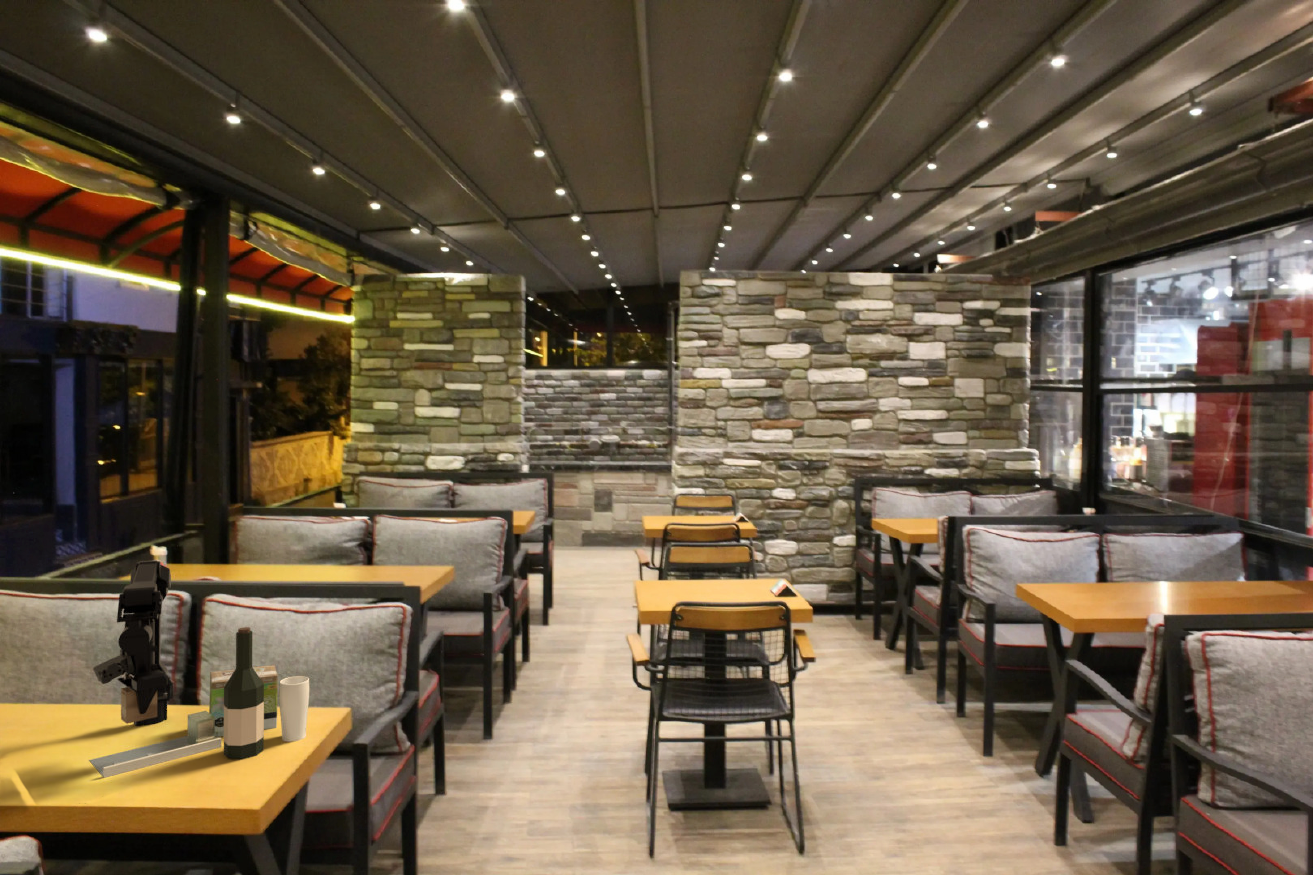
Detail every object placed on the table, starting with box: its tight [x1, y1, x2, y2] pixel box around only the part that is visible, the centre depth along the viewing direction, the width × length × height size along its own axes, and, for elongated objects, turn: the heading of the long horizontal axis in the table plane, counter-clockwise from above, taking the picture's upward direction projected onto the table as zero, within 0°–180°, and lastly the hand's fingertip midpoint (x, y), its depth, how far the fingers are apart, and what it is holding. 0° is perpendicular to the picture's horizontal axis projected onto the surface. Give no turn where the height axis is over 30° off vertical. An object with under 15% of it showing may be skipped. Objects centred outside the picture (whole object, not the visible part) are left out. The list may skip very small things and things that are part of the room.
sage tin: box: [187, 710, 216, 745], centre depth 192 cm, size 6×4×7 cm, turn 47°
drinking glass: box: [278, 675, 310, 743], centre depth 198 cm, size 7×7×15 cm
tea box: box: [208, 664, 279, 738], centre depth 204 cm, size 15×10×15 cm, turn 120°
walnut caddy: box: [120, 686, 157, 724], centre depth 183 cm, size 6×4×7 cm, turn 139°
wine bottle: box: [223, 626, 265, 761], centre depth 188 cm, size 8×8×30 cm
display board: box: [88, 735, 222, 779], centre depth 187 cm, size 24×13×3 cm, turn 137°
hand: (139, 711), depth 183 cm, fingers closed on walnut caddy, 4 cm apart
